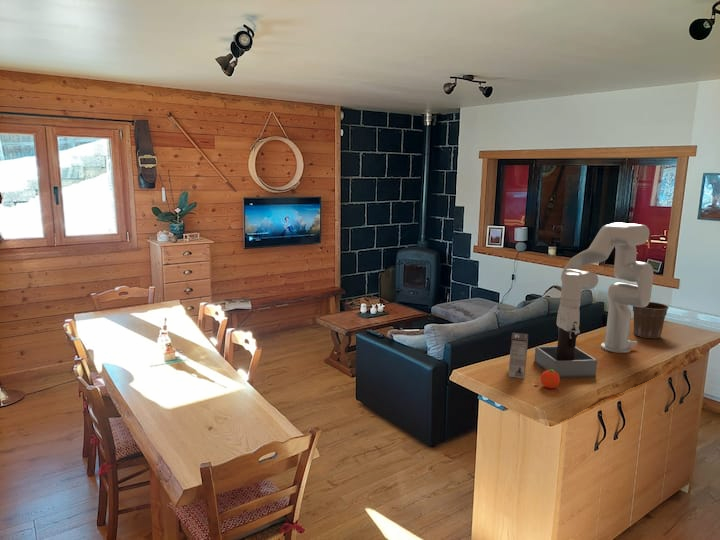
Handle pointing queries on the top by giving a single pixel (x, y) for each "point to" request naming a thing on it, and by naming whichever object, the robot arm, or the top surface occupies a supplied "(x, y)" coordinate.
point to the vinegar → (564, 346)
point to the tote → (566, 363)
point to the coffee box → (518, 355)
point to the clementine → (550, 378)
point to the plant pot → (649, 320)
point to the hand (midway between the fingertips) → (566, 343)
